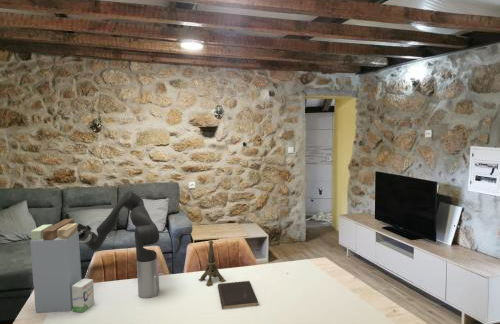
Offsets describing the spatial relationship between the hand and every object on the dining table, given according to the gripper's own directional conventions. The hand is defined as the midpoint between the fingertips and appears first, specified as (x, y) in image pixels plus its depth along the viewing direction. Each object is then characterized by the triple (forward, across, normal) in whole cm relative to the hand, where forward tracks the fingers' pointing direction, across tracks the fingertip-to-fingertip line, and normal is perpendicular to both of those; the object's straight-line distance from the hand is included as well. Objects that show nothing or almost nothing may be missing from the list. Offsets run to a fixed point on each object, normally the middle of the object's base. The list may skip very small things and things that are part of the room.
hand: (69, 225), depth 179 cm
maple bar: (+13, +6, +8) cm, 16 cm away
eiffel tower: (-20, +68, +27) cm, 76 cm away
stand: (-3, 0, +36) cm, 36 cm away
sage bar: (+13, -6, +8) cm, 16 cm away
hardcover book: (-4, +80, +37) cm, 88 cm away
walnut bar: (+9, 0, +6) cm, 11 cm away
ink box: (0, +12, +38) cm, 40 cm away
